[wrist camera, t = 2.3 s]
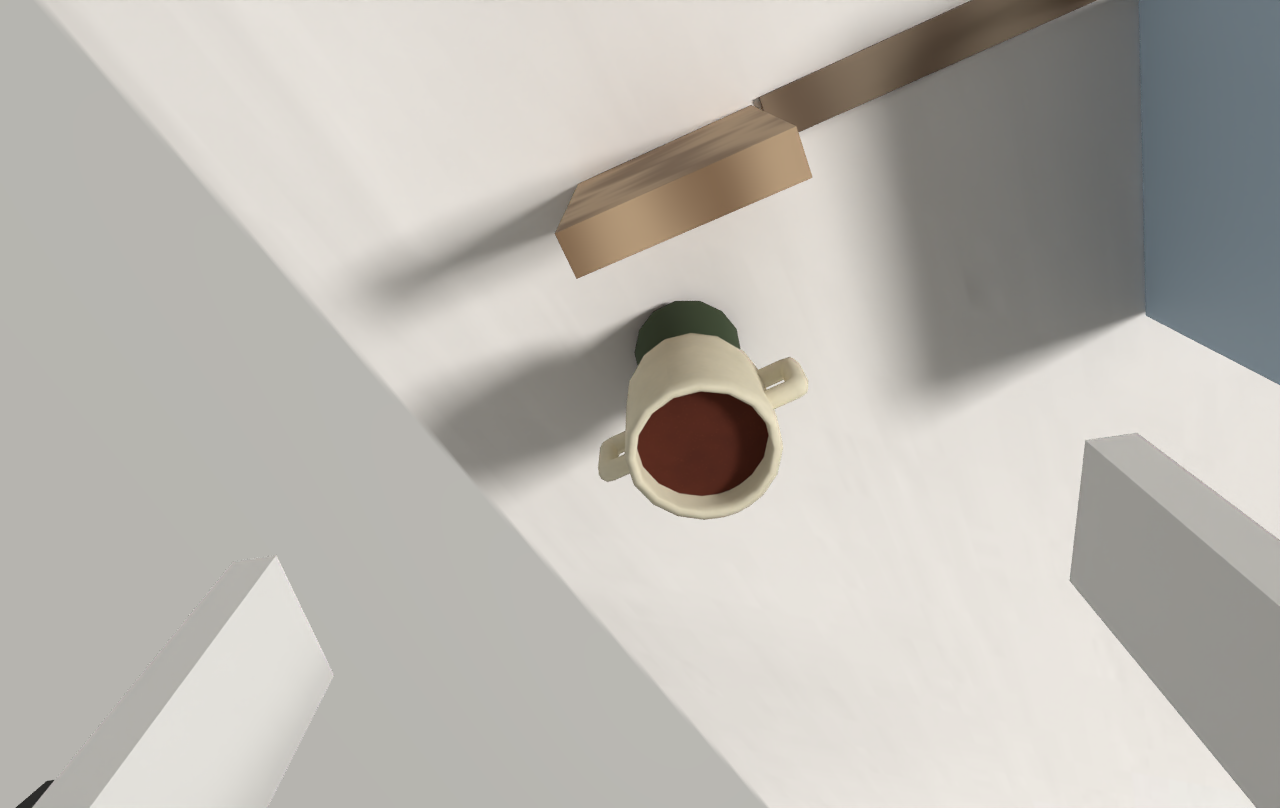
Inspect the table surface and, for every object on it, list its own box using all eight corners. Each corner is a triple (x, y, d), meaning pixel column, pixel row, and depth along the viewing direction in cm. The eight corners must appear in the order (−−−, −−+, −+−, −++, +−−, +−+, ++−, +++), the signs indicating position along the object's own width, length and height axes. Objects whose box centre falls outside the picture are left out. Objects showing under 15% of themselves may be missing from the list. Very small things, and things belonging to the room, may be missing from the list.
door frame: (595, 221, 40) (574, 298, 27) (576, 180, 39) (546, 241, 26) (1225, -58, 34) (1566, -123, 22) (1222, -115, 33) (1577, -217, 21)
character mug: (634, 428, 46) (632, 558, 34) (579, 336, 43) (557, 442, 31) (792, 356, 44) (849, 467, 32) (745, 253, 41) (788, 334, 29)
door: (1138, -12, 35) (1364, -41, 24) (1190, -30, 34) (1444, -69, 23) (1145, 315, 42) (1321, 406, 31) (1189, 303, 42) (1381, 390, 31)
